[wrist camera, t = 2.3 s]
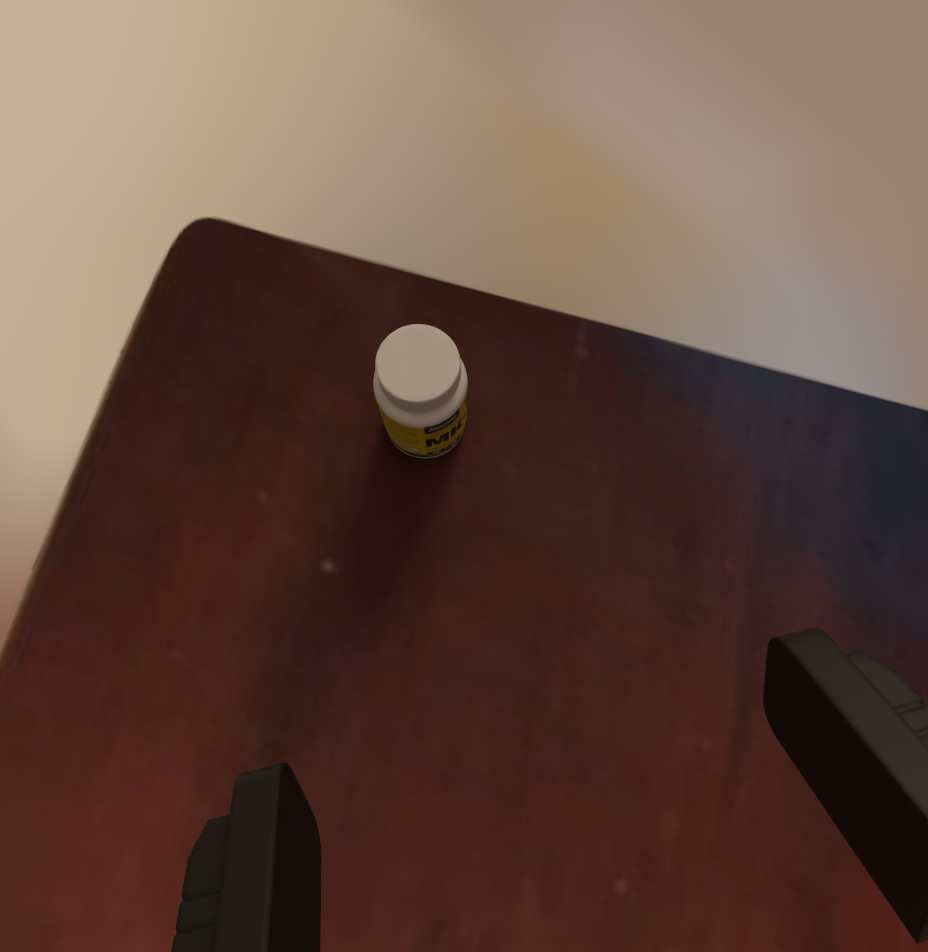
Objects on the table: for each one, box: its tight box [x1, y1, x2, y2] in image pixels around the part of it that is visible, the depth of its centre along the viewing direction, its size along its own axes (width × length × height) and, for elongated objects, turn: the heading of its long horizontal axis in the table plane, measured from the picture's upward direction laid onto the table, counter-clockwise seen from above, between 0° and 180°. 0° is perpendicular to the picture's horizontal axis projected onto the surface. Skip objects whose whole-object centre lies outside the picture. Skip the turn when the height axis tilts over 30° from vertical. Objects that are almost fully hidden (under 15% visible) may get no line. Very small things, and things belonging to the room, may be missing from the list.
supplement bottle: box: [373, 324, 468, 458], centre depth 36 cm, size 5×5×8 cm
